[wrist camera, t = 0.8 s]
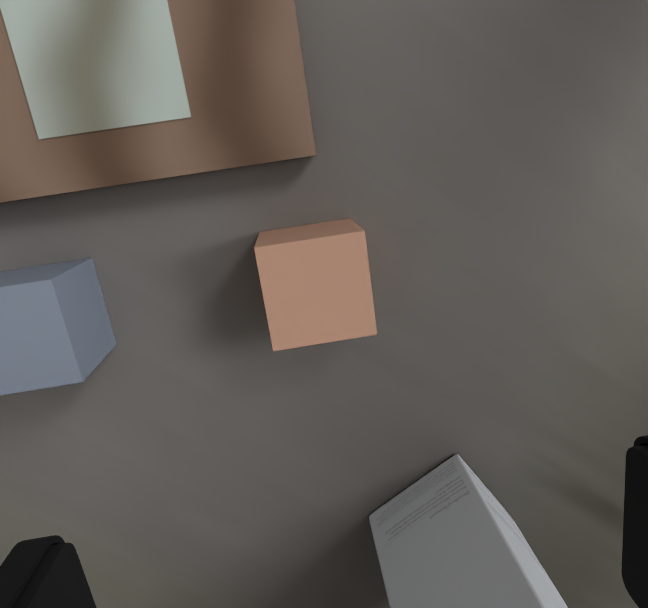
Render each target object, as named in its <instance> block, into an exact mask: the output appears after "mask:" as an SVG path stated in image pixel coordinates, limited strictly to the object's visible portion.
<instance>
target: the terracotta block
mask: <svg viewBox="0 0 648 608" xmlns="http://www.w3.org/2000/svg"><path fill="white" fill-rule="evenodd" d="M254 250H255V255H256V261H257V266H258V271H259V277H260V282H261V288H262V293H263V299H264V304H265V309H266V315H267V320H268V326H269V331H270V337H271V342H272V347H273V351H278V350H284V349H290V348H297V347H303V346H309V345H315V344H321V343H328V342H334V341H340V340H346V339H353V338H359V337H365V336H371V335H377V329H376V321H375V312H374V304H373V295H372V287H371V279H370V270H369V262H368V253H367V245H366V236H365V230H363V229H362V228H361V227H360V226H359V225H358V224H357V223H356V222H355V221H354V220H353V219H351V218H348V219H341V220H335V221H328V222H322V223H315V224H309V225H302V226H296V227H289V228H282V229H276V230H269V231H263V232H259V235H258V238H257V241H256V244H255V247H254Z"/></svg>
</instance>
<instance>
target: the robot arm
mask: <svg viewBox="0 0 648 608" xmlns="http://www.w3.org/2000/svg"><path fill="white" fill-rule="evenodd" d="M622 578H623V582H624V584H625V587H626V589H627V591H628V593H629V595H630V596H631V598H632V599H633V600H634V602H635V603H636V604H637V605H638V607H639V608H648V435H647V436H641V437H639V438H637V439H636V440H635V442H634V446H633V447H631V448H629V449H628V451H627V454H626V471H625V497H624V524H623V550H622ZM0 608H96V605H95V602H94V600H93V597H92V594H91V591H90V588H89V586H88V583H87V580H86V577H85V574H84V572H83V569H82V566H81V563H80V560H79V558H78V555H77V552H76V549H75V547H74V545H73V544H71V543H65V542H64V540H63V539H62V538H61V537H60V536H56V535H54V536H48V537H42V538H36V539H30V540H24V541H21V542H19V543H17V544H16V545H15V547H14V548H13V549H12V550H11V552H10V553H9V555H8V556H7V557H6V559H5V560H4V562H3V563H2V565H1V566H0Z"/></svg>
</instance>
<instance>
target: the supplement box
mask: <svg viewBox="0 0 648 608" xmlns="http://www.w3.org/2000/svg"><path fill="white" fill-rule="evenodd" d="M369 521H370V525H371V529H372V534H373V538H374V543H375V547H376V551H377V555H378V559H379V563H380V567H381V572H382V576H383V580H384V584H385V588H386V593H387V597H388V601H389V605H390V608H568V607H567V605H566V604H565V602H564V601H563V599H562V597H561V596H560V594H559V593H558V591H557V589H556V588H555V586H554V585H553V583H552V582H551V580H550V578H549V577H548V575H547V574H546V572H545V570H544V569H543V567H542V566H541V564H540V563H539V561H538V559H537V558H536V556H535V555H534V553H533V551H532V550H531V548H530V546H529V545H528V543H527V541H526V540H525V538H524V536H523V535H522V533H521V531H520V530H519V528H518V527H517V525H516V523H515V522H514V521H513V519H512V518H511V517H510V515H509V514H508V513H507V512H506V510H505V509H504V508H503V507H502V505H501V504H500V503H499V502H498V501H497V499H496V498H495V497H494V496H493V495H492V493H491V492H490V491H489V490H488V489H487V488H486V486H485V485H484V484H483V483H482V482H481V481H480V479H479V478H478V477H477V476H476V475H475V473H474V472H473V471H472V470H471V469H470V468H469V466H468V465H467V464H466V463H465V462H464V461H463V459H462V458H461V457H460V456H459V455H458V454H456V455H454V456H453V457H451V458H450V459H448V460H447V461H445V462H444V463H442V464H441V465H439V466H438V467H437V468H435V469H434V470H432V471H431V472H430V473H428V474H427V475H425V476H424V477H422V478H421V479H419V480H418V481H417V482H415V483H414V484H412V485H411V486H409V487H408V488H406V489H405V490H404V491H402V492H401V493H400V494H398V495H397V496H395V497H394V498H392V499H391V500H390V501H388V502H387V503H386V504H384V505H382V506H381V507H380V508H378V509H377V510H376V511H375V512H373V513H372V514H371V515H370V516H369Z"/></svg>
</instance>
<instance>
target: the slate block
mask: <svg viewBox="0 0 648 608" xmlns="http://www.w3.org/2000/svg"><path fill="white" fill-rule="evenodd" d="M115 346H116V341H115V337H114V334H113V330H112V327H111V323H110V320H109V316H108V312H107V309H106V305H105V302H104V298H103V295H102V291H101V288H100V284H99V281H98V277H97V273H96V270H95V266H94V263H93V259H92V258H88V259H81V260H74V261H68V262H61V263H55V264H48V265H42V266H35V267H29V268H22V269H16V270H9V271H3V272H0V395H6V394H12V393H18V392H24V391H31V390H37V389H43V388H49V387H55V386H62V385H68V384H74V383H80V382H83V381H84V380H85V379H86V378H87V377H88V376H89V375H90V374H91V372H92V371H93V370H94V369H95V368H96V367H97V366H98V365H99V364H100V362H101V361H102V360H103V359H104V358H105V357H106V356H107V355H108V353H109V352H110V351H111V350H112V349H113V348H114V347H115Z"/></svg>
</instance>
